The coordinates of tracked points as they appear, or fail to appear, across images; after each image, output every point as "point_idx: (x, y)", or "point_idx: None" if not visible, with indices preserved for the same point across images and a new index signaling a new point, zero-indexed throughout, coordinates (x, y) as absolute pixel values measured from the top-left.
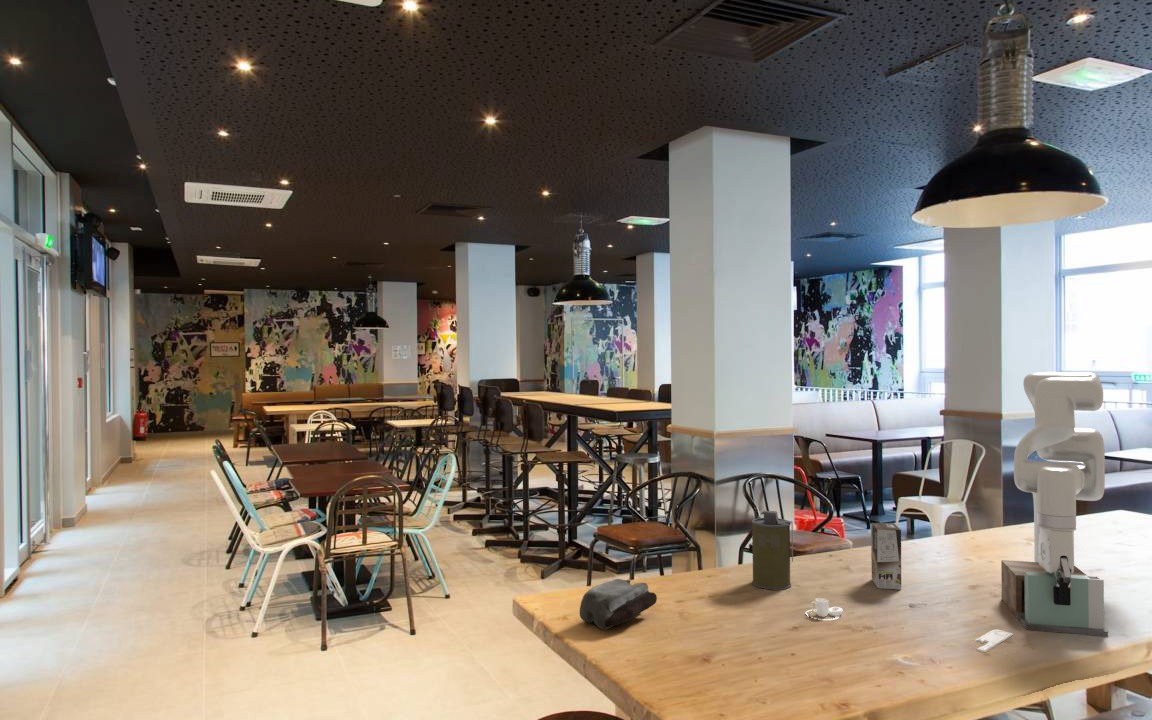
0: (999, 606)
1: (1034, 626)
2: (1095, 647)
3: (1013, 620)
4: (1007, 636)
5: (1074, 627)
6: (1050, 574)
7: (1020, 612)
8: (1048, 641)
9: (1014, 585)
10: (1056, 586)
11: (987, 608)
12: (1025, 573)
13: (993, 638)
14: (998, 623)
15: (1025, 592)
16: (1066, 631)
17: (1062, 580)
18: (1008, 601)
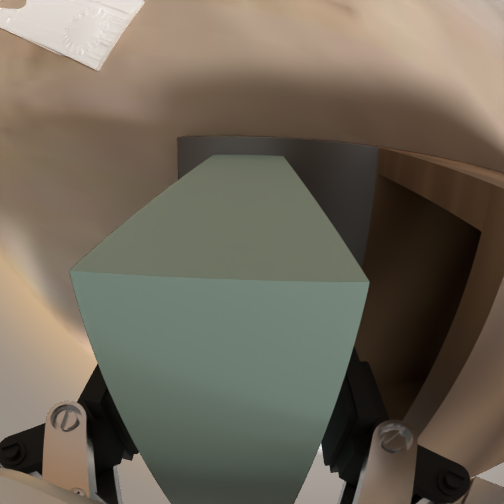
0: (484, 135)
1: (179, 171)
2: (81, 317)
3: (315, 113)
4: (62, 53)
5: None
6: (250, 491)
7: (378, 167)
8: (71, 192)
9: (485, 176)
10: (57, 405)
11: (456, 71)
12: (279, 271)
13: (39, 15)
14: (249, 34)
15: (276, 182)
16: None
17: (1, 450)
18: (493, 171)
